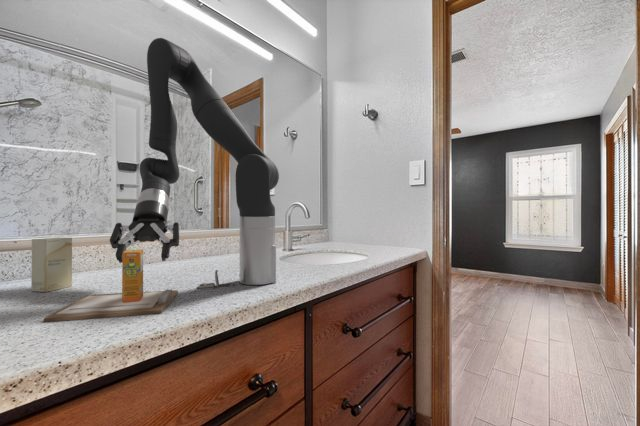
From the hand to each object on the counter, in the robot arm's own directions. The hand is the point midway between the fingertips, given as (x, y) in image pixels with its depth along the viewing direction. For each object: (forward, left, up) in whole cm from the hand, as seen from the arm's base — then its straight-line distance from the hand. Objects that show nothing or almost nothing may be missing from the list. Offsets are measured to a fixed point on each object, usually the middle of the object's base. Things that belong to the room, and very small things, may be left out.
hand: (142, 259), depth 68 cm
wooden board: (+1, +9, -8) cm, 12 cm away
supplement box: (-1, +9, -7) cm, 11 cm away
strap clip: (-16, -2, -8) cm, 18 cm away
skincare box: (+22, -9, -8) cm, 25 cm away
